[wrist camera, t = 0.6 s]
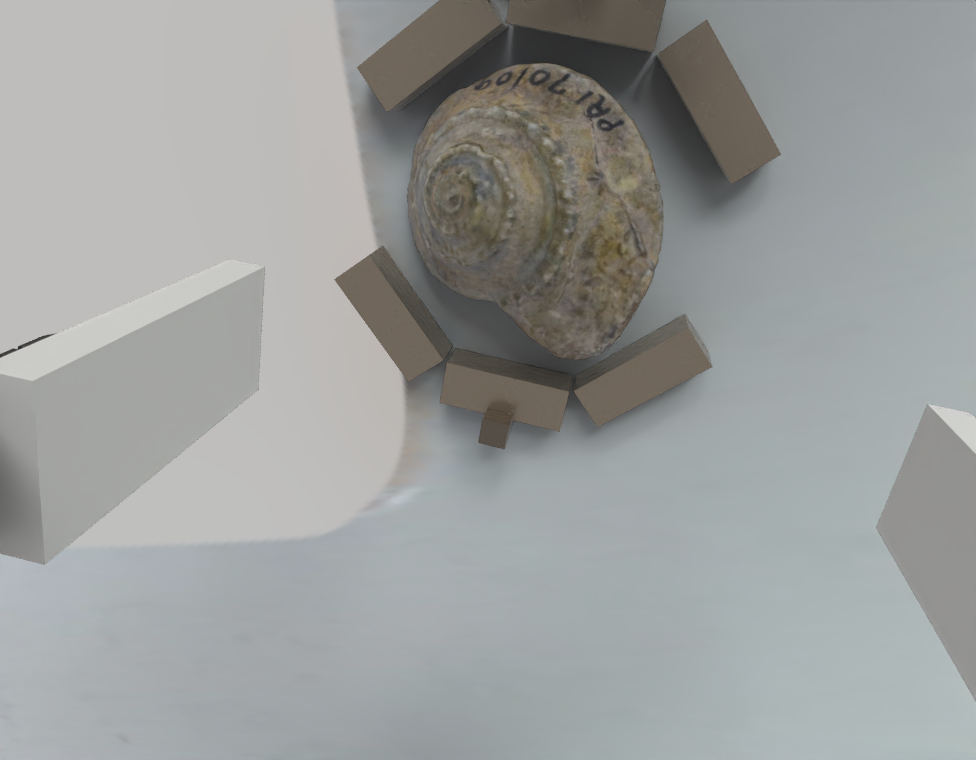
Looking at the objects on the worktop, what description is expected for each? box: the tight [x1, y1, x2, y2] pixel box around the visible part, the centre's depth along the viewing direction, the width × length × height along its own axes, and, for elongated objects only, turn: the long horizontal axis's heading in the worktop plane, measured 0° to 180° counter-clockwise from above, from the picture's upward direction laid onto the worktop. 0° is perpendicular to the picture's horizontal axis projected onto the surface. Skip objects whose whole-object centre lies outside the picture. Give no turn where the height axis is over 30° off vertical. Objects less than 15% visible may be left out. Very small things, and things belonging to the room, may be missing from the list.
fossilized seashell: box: [407, 63, 663, 361], centre depth 31 cm, size 11×11×7 cm
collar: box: [335, 0, 781, 449], centre depth 32 cm, size 20×17×3 cm
